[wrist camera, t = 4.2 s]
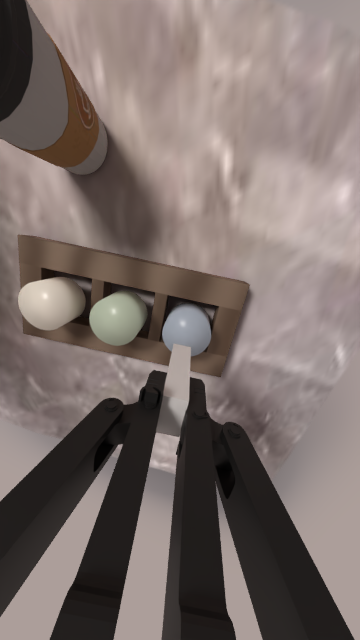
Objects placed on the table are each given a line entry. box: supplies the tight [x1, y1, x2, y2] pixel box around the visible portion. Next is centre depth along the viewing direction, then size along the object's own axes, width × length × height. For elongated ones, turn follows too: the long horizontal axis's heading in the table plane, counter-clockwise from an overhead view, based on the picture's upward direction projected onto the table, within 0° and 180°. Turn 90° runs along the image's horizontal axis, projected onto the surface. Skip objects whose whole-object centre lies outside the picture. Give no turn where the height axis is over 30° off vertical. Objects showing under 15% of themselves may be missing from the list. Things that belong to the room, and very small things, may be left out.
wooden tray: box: [18, 235, 250, 377], centre depth 28 cm, size 28×13×2 cm, turn 78°
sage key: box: [89, 291, 147, 346], centre depth 24 cm, size 6×6×4 cm
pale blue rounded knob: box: [162, 303, 211, 356], centre depth 25 cm, size 6×6×4 cm
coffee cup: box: [0, 0, 108, 175], centre depth 16 cm, size 8×8×15 cm
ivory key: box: [18, 277, 86, 330], centre depth 25 cm, size 6×6×4 cm
